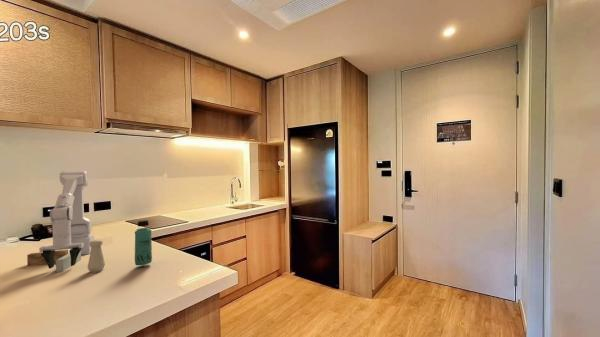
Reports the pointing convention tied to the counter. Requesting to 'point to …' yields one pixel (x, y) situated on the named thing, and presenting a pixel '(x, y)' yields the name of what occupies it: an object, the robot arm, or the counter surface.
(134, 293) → the counter surface
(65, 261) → the grey rectangular bar
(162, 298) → the counter surface
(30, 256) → the brown flat bar
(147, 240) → the beverage bottle
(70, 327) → the counter surface
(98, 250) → the salt shaker
